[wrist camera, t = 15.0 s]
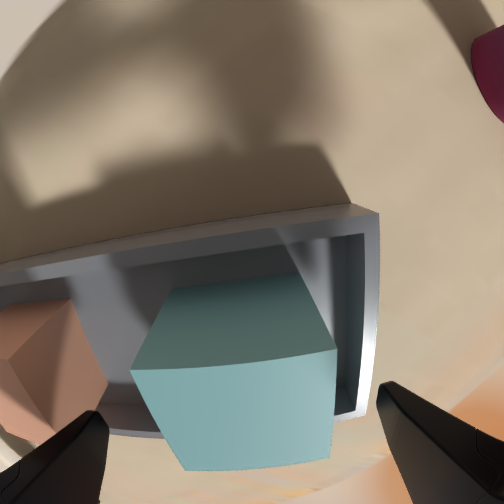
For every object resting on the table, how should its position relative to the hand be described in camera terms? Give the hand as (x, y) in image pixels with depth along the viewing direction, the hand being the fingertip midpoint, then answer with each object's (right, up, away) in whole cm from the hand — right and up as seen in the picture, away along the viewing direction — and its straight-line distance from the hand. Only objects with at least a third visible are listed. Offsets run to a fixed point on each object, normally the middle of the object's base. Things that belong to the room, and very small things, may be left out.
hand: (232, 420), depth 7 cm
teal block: (0, +2, +3) cm, 4 cm away
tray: (-4, +1, +4) cm, 6 cm away
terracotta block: (-9, +1, +3) cm, 9 cm away
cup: (+13, +14, +1) cm, 19 cm away
